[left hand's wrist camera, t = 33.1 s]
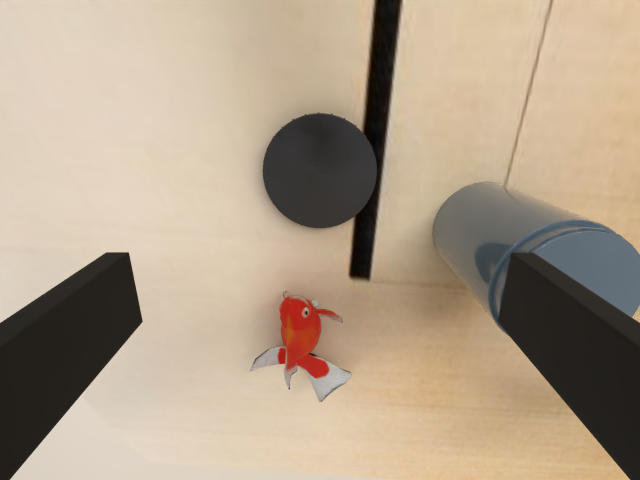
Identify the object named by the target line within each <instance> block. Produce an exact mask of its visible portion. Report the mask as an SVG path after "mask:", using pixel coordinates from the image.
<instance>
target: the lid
mask: <svg viewBox="0 0 640 480" xmlns="http://www.w3.org/2000/svg"><path fill="white" fill-rule="evenodd" d="M365 136H366V135H364V134H363V133H362V132H361V131H360V130H359V129H358V128H357V127H356V125H353V124H352V123H350V122H349V121H347V120H345V118H341V117H338V116H334V115H333V114H331V115H330V114H319V113H318V114H309V115H306V114H305V116H302V117H299V118H297V119H295V120H294V119H293V121H291V122H290V123H288V124H286V125H285V126H283V127H282V129H281V130H280V131H279V132H278V133H277V134H276V135H275V136H274V137H273V139H272V141H271V143H270V144H269V146H268V148H267V151H266V154H265V158H264V161H263V162H264V164H263V178H264V184H265V187H266V190H267V193H268V195H269V197H270V199H271V201H272V202H273V204H274V205H275V206H276V208H277V209H278V210H279V211H280V212H281V213H282V214H283V215H285V216H286V217H287V218H289V219H290V220H292V221H294V222H296V223H298V224H301V225H304V226H307V227H314V228H326V227H332V226H336V225H339V224H342V223H344V222H346V221H348V220H350V219H351V218H353V217H354V216H355V215H357V214H358V213H359V212H360V211H361V210H362V209H363V207H364V206H365V205H366V204H367V202H368V200H369V199H370V197H371V195H372V193H373V190H374V187H375V183H376V176H377V165H376V158H375V155H374V152H373V149H372V146H371V145H370V143H369V141H368V140H367V138H366V137H365Z"/></svg>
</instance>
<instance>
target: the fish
mask: <svg viewBox="0 0 640 480" xmlns="http://www.w3.org/2000/svg"><path fill="white" fill-rule="evenodd" d="M285 292H286V291H285ZM285 292H283V297H284V293H285ZM318 305H319V303H318V302H316V301H315V300H312V301H311V302H310V301H309V300H307V299H305V298H303V297H300V296H290V297H287V298H285V297H284V301H283V302H282V304H281V305H280V318H281V321H282V326H281V334H282V339H283V343H284V345H285V347H282V346H280V347H275V348H271V349H268V350H266V351H265V352H264V353H263V354H261V355H260V356H259V357H257V358H256V359H255V361H254V363H253V365H252V367H251V369H250V371H252V370H254V369H257V368H260V367H264V366H268V365H274V364H285V368H284V375H285V380H286V383H287V386H288V389H290V378H291V375H292V374H293V373H295V372H296V371H297V366H300V367H301V368H302V369H304V370H305V371H306V373H307V374H308V376H309V377H310V380H311V382H312V385H313V388H314V390H315V392H316V395H317V397H318V400H319V402H322V401H323V400H324V399H325V398H326V397H327V396H328V395H329V394H330V393H331V392H333V391H334V390H335V389H336V388H338V387H340V386H341V385H343V384H345V383H346V382H347V381H348V379H349V378H350V376H351V375H352V373H351V372H349V371H346V370H343V369H340V368H338V367H337V366H335V365H333V364H331V363H329V362H327V361H326V360H324V359H322V358H320V357H318V356H316V355H314V354H312V353H310V352H311V351H312V350H313V349H314V347H315V346H316V344H317V342H318V340H319V337H320V333H321V321H320V317H319V316H328V317H330V318H332V319H334V320H336V321H340V322H343V320H342V318H341V317H340V316H338V315H336V314H335V313H334V312H332V311H329V310H325V309H315V307H317V306H318ZM250 371H249V372H250Z"/></svg>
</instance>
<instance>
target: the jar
mask: <svg viewBox="0 0 640 480" xmlns="http://www.w3.org/2000/svg"><path fill="white" fill-rule="evenodd" d="M433 240H434V245H435V248H436V250H437V252H438V254H439V255H440V256H441V258H442V259H443V260H444V261H445V263H446V264H447V265H448V266H449V267H450V269H451V270H452V271H453V272H454V274H455V275H456V276H457V277H458V278H459V280H460V281H461V282H462V283H463V284H464V286H465V287H466V288H467V289H468V290H469V292H470V293H471V294H472V295H473V297H474V298H475V299H476V300H477V301H478V303H479V304H480V305H481V306H482V307H483V309H484V310H485V311H486V312H487V313H488V315H489V316H490V317H491V318H492V320H493V321H494V322H495V323H496V324H497V326H498V327H499V328H500V329H501V330H502V331H503V332H505V333H506V334H507V332H506V331H505V330H504V329H503V328H502V326H501V325H500V324H499V323H498V322H497V321H498V316H499V311H500V306H501V301H502V296H503V291H504V286H505V281H506V276H507V271H508V266H509V261H510V256H511V253H535V254H537V255H538V256H540V257H541V258H543V259H544V260H546V261H547V262H549V263H550V264H552V265H553V266H555V267H556V268H558V269H559V270H561V271H562V272H564V273H565V274H567V275H568V276H570V277H571V278H573V279H574V280H576V281H577V282H579V283H580V284H582V285H583V286H585V287H586V288H588V289H589V290H591V291H592V292H594V293H595V294H597V295H598V296H600V297H601V298H603V299H604V300H606V301H607V302H609V303H610V304H612V305H613V306H615V307H616V308H618V309H619V310H621V311H622V312H624V313H625V314H627V315H628V316H630V317H631V318H632V316H633V315H634V313H635V312H636V311H637V309H638V307H639V305H640V255H639V253H638V252H637V251H636V249H635V248H634V247H633V245H631V244H630V243H629V242H628V241H626V240H625V239H624V238H623V237H622V236H621V235H619V234H616V233H615V232H614V231H613V230H611V229H610V228H608V227H606V226H604V225H602V224H600V223H597V222H595V221H592V220H590V219H587V218H585V217H583V216H580V215H578V214H575V213H573V212H570V211H568V210H565V209H563V208H560V207H558V206H555V205H553V204H550V203H548V202H545V201H543V200H540V199H538V198H535V197H533V196H530V195H528V194H526V193H523V192H521V191H518V190H516V189H513V188H511V187H508V186H506V185H503V184H500V183H495V182H481V183H476V184H472V185H469V186H466V187H464V188H462V189H460V190H459V191H457V192H456V193H454V194H453V195H452V196H451V197H450V198H449V199H448V200H447V201H446V202H445V203H444V204H443V206H442V207H441V209H440V210H439V212H438V214H437V216H436V219H435V222H434V227H433ZM507 335H508V334H507ZM508 336H509V335H508Z"/></svg>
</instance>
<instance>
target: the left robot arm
mask: <svg viewBox="0 0 640 480" xmlns="http://www.w3.org/2000/svg"><path fill="white" fill-rule="evenodd" d="M142 322H143V321H142V316H141V311H140V306H139V301H138V296H137V291H136V286H135V281H134V276H133V271H132V266H131V261H130V256H129V253H105V254H103V255H102V256H100V257H99V258H97V259H96V260H94V261H93V262H91V263H90V264H88V265H87V266H85V267H84V268H82V269H81V270H79V271H78V272H76V273H75V274H73V275H72V276H70V277H69V278H67V279H66V280H64V281H63V282H61V283H60V284H58V285H57V286H55V287H54V288H52V289H51V290H49V291H48V292H46V293H45V294H43V295H42V296H40V297H39V298H37V299H36V300H34V301H33V302H31V303H30V304H28V305H27V306H25V307H24V308H22V309H21V310H19V311H18V312H16V313H15V314H13V315H12V316H10V317H9V318H7V319H6V320H4V321H3V322H1V323H0V480H10V479H11V478H12V476H13V475H14V474H15V473H16V472H17V470H18V469H19V468H20V467H21V466H22V464H23V463H24V462H25V461H26V460H27V458H28V457H29V456H30V455H31V454H32V453H33V451H34V450H35V449H36V448H37V447H38V445H39V444H40V443H41V442H42V441H43V439H44V438H45V437H46V436H47V435H48V434H49V432H50V431H51V430H52V429H53V428H54V426H55V425H56V424H57V423H58V422H59V420H60V419H61V418H62V417H63V416H64V414H65V413H66V412H67V411H68V410H69V409H70V407H71V406H72V405H73V404H74V403H75V401H76V400H77V399H78V398H79V397H80V395H81V394H82V393H83V392H84V391H85V389H86V388H87V387H88V386H89V385H90V384H91V382H92V381H93V380H94V379H95V378H96V376H97V375H98V374H99V373H100V372H101V370H102V369H103V368H104V367H105V366H106V365H107V363H108V362H109V361H110V360H111V359H112V357H113V356H114V355H115V354H116V353H117V351H118V350H119V349H120V348H121V347H122V345H123V344H124V343H125V342H126V341H127V340H128V338H129V337H130V336H131V335H132V334H133V332H134V331H135V330H136V329H137V328H138V326H139V325H140V324H141V323H142ZM497 322H498V323H499V324H500V325H501V326H502V328H503V329H504V330H505V331H506V332H507V334H508V335H509V336H510V337H511V338H512V340H513V341H514V342H515V343H516V344H517V345H518V347H519V348H520V349H521V350H522V351H523V353H524V354H525V355H526V356H527V357H528V359H529V360H530V361H531V362H532V363H533V365H534V366H535V367H536V368H537V369H538V370H539V372H540V373H541V374H542V375H543V376H544V378H545V379H546V380H547V381H548V382H549V384H550V385H551V386H552V387H553V388H554V389H555V391H556V392H557V393H558V394H559V395H560V397H561V398H562V399H563V400H564V401H565V403H566V404H567V405H568V406H569V407H570V409H571V410H572V411H573V412H574V413H575V414H576V416H577V417H578V418H579V419H580V420H581V422H582V423H583V424H584V425H585V426H586V428H587V429H588V430H589V431H590V432H591V434H592V435H593V436H594V437H595V438H596V439H597V441H598V442H599V443H600V444H601V445H602V447H603V448H604V449H605V450H606V451H607V453H608V454H609V455H610V456H611V457H612V458H613V460H614V461H615V462H616V463H617V464H618V466H619V467H620V468H621V469H622V470H623V472H624V473H625V474H626V475H627V476H628V478H629V479H630V480H640V323H639V322H637V321H636V320H634V319H633V318H631V317H630V316H628V315H627V314H625V313H624V312H622V311H621V310H619V309H618V308H616V307H615V306H613V305H612V304H610V303H609V302H607V301H606V300H604V299H603V298H601V297H600V296H598V295H597V294H595V293H594V292H592V291H591V290H589V289H588V288H586V287H585V286H583V285H582V284H580V283H579V282H577V281H576V280H574V279H573V278H571V277H570V276H568V275H567V274H565V273H564V272H562V271H561V270H559V269H558V268H556V267H555V266H553V265H552V264H550V263H549V262H547V261H546V260H544V259H543V258H541V257H540V256H538V255H537V254H535V253H511V256H510V261H509V266H508V271H507V276H506V281H505V286H504V291H503V296H502V301H501V306H500V311H499V316H498V321H497Z"/></svg>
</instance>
